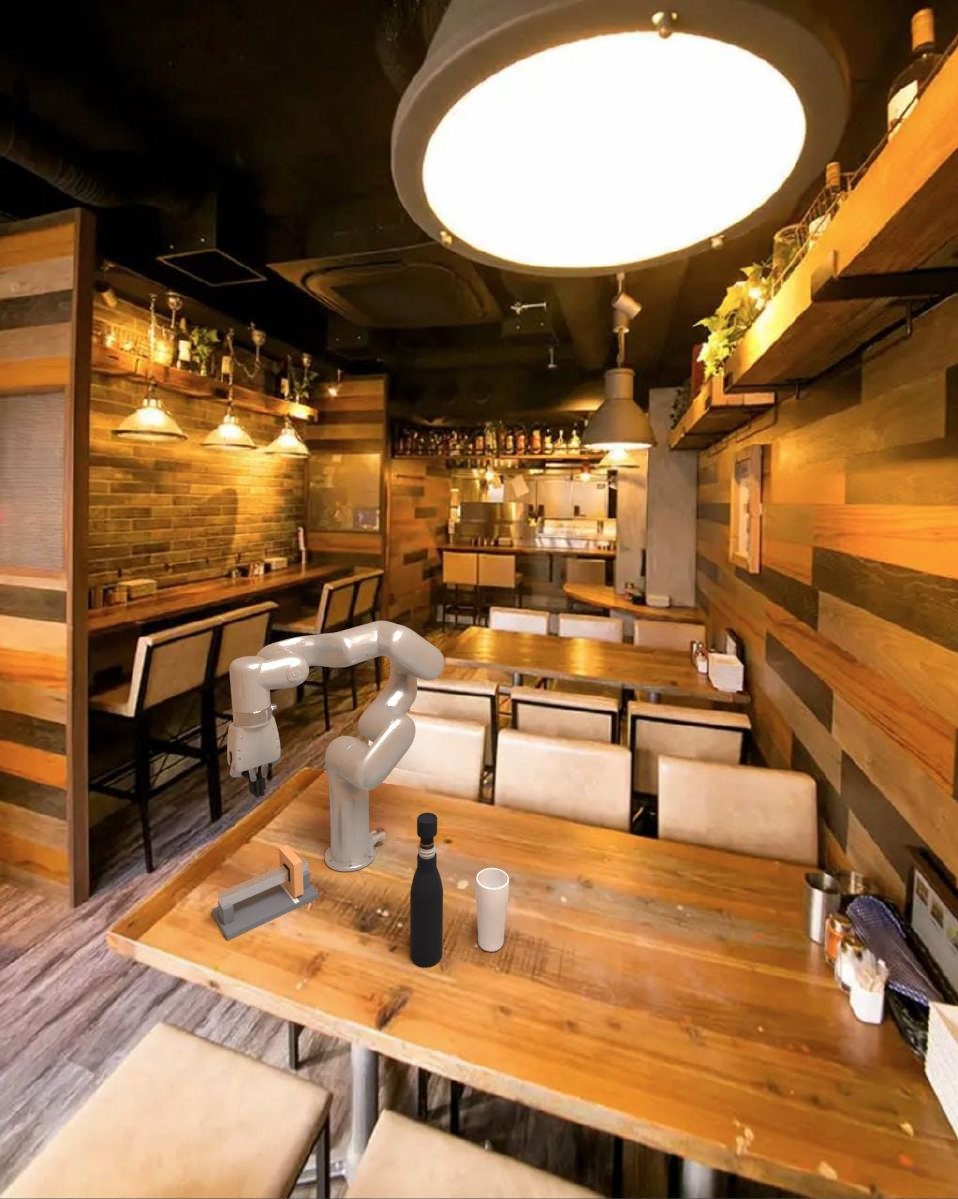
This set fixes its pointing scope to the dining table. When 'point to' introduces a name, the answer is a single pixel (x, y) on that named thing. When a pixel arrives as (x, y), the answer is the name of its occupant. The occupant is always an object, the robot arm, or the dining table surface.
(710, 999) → the dining table surface
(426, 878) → the black bottle
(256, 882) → the grey long bar
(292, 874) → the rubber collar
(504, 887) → the drinking glass
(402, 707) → the robot arm
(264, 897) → the pipe board
